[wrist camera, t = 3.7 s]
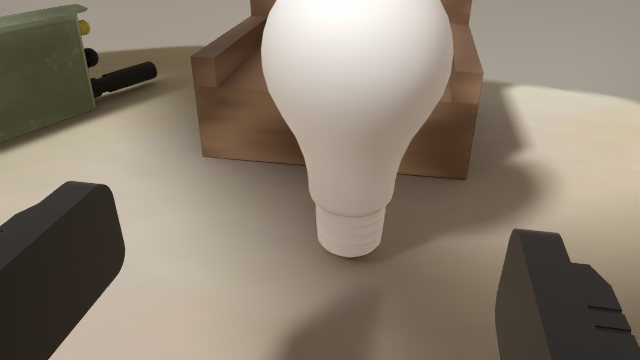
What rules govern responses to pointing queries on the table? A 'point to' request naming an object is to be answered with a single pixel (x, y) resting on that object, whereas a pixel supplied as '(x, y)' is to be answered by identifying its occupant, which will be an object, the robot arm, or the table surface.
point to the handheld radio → (51, 70)
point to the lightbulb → (355, 100)
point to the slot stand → (274, 133)
